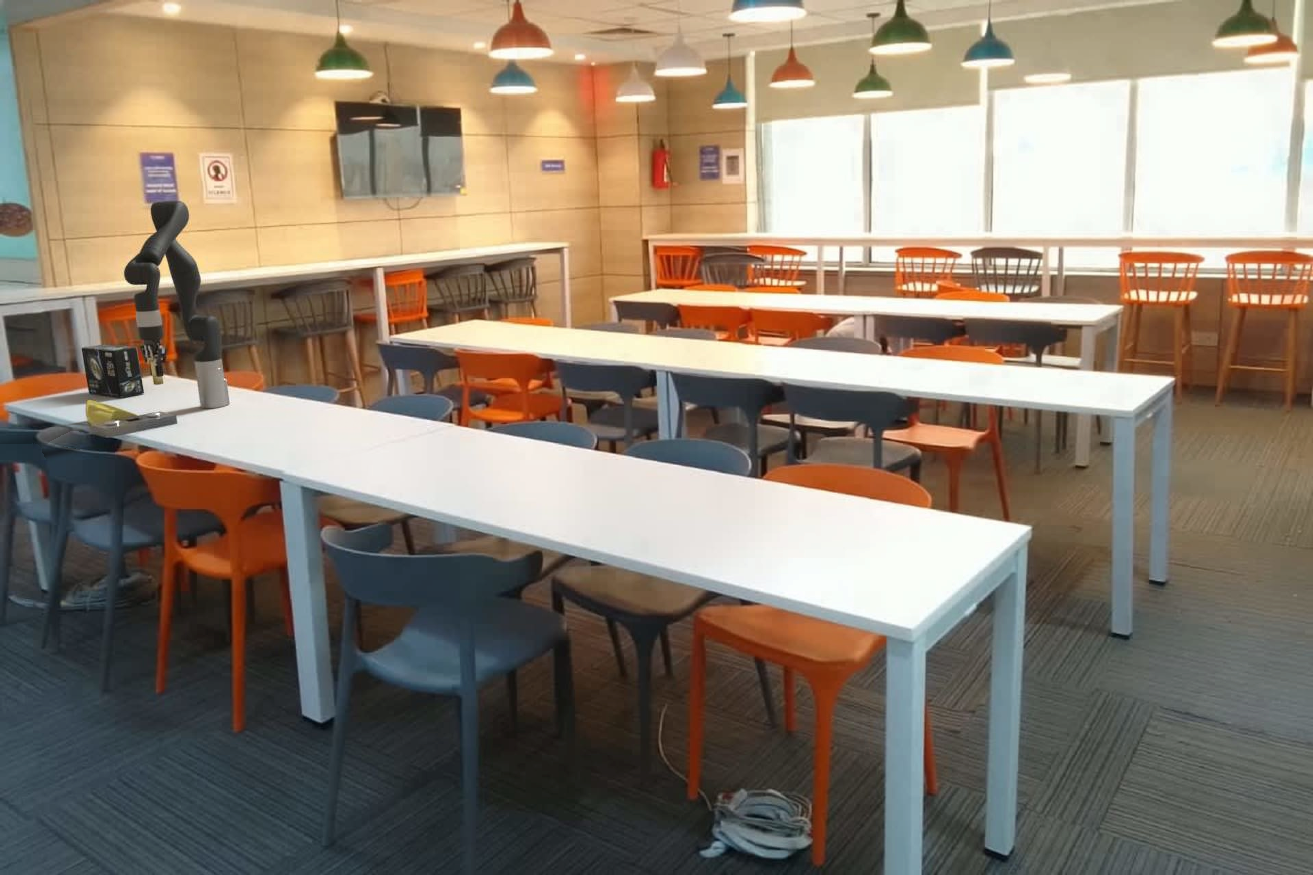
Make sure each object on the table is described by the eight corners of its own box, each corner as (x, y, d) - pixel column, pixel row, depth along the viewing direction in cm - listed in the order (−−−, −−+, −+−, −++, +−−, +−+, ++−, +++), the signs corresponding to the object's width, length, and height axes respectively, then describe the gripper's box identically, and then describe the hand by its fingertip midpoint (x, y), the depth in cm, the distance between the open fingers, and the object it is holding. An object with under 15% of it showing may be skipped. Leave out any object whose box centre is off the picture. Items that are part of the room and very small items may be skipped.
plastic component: (140, 415, 364) (113, 408, 356) (133, 436, 363) (105, 429, 355) (111, 405, 375) (84, 398, 367) (104, 425, 374) (76, 418, 366)
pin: (161, 382, 353) (157, 355, 351) (166, 383, 351) (163, 356, 348) (150, 384, 350) (146, 357, 348) (155, 385, 348) (151, 358, 346)
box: (87, 394, 419) (80, 347, 414) (111, 389, 427) (104, 343, 422) (121, 399, 406) (113, 350, 402) (145, 394, 415) (138, 346, 410)
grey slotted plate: (161, 419, 367) (159, 409, 366) (177, 423, 361) (175, 412, 360) (90, 433, 349) (89, 422, 348) (106, 437, 342) (104, 426, 341)
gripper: (171, 324, 344) (179, 376, 348) (150, 321, 353) (157, 372, 357) (149, 327, 338) (157, 379, 343) (127, 324, 347) (135, 375, 351)
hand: (157, 375), depth 350 cm, fingers closed on pin, 3 cm apart
